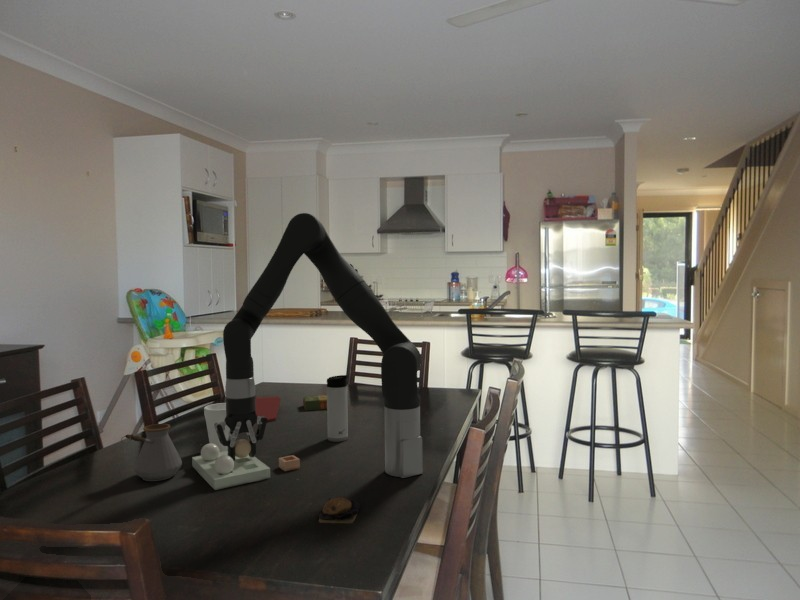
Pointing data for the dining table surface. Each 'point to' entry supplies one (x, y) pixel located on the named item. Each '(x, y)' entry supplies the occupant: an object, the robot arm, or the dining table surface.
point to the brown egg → (242, 448)
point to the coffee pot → (156, 454)
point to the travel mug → (337, 408)
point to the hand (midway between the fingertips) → (242, 458)
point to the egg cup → (289, 463)
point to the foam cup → (216, 415)
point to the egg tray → (241, 473)
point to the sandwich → (339, 511)
